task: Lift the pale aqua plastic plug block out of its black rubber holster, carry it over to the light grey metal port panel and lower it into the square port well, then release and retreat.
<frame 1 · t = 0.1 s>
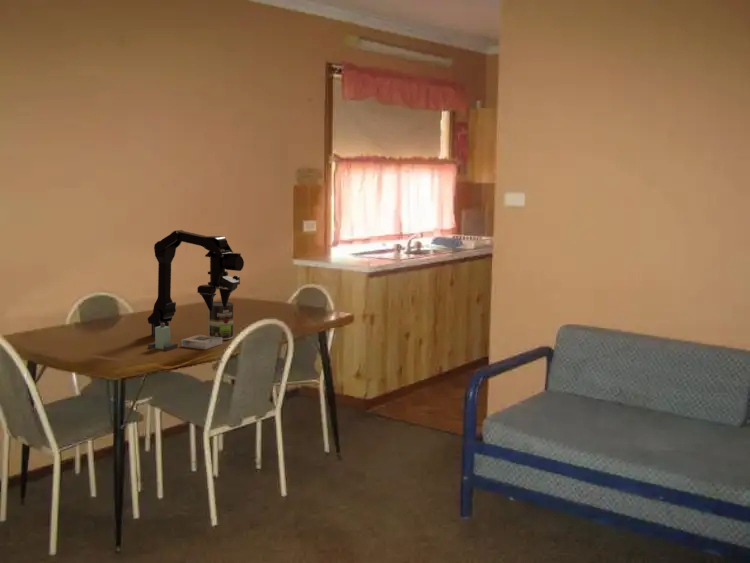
hand: (217, 308, 317), 15 cm above the table, fingers open, 9 cm apart
coffee can: (220, 338, 333), on the table
holster: (163, 350, 309), on the table
plug: (163, 347, 309), point 1 cm above the table, touching holster
port: (202, 347, 315), on the table
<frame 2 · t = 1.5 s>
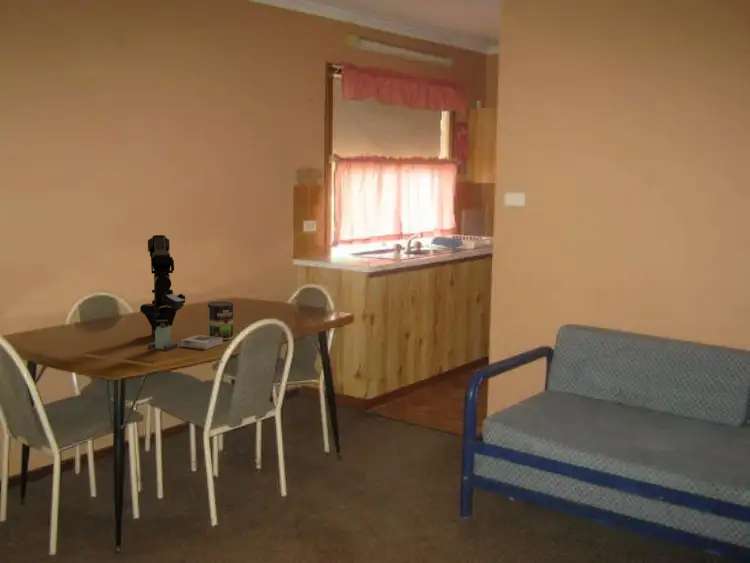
hand: (162, 327, 308), 9 cm above the table, fingers open, 9 cm apart
nothing on the table moved.
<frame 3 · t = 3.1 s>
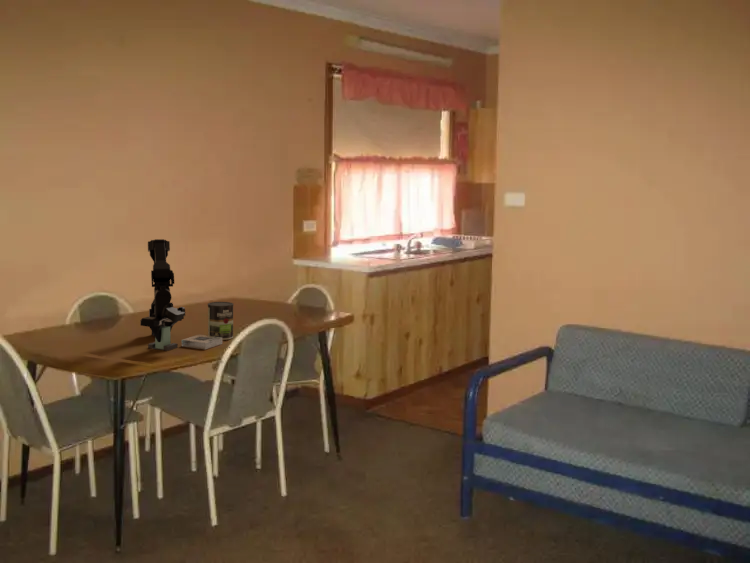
hand: (162, 340, 309), 4 cm above the table, fingers closed on plug, 4 cm apart
plug: (163, 347, 309), point 1 cm above the table, touching gripper, holster
everything else where it was.
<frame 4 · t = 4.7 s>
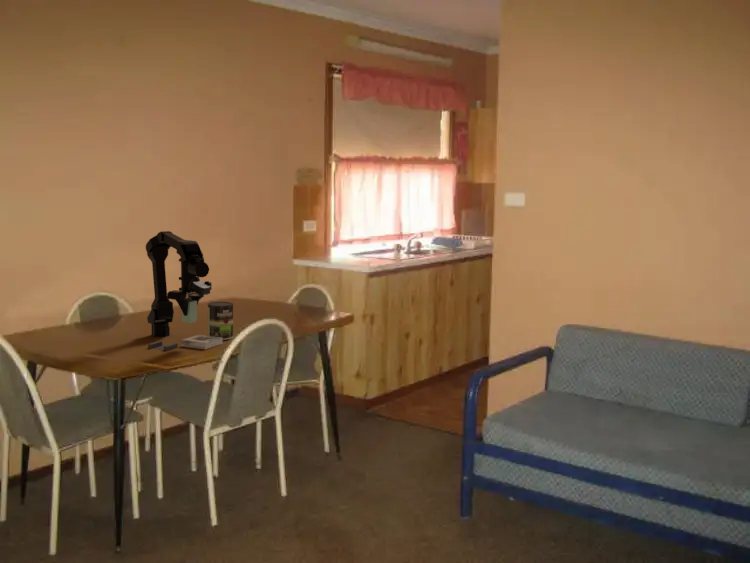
hand: (189, 314, 311), 13 cm above the table, fingers closed on plug, 4 cm apart
plug: (189, 321, 311), point 11 cm above the table, touching gripper
everything else where it was.
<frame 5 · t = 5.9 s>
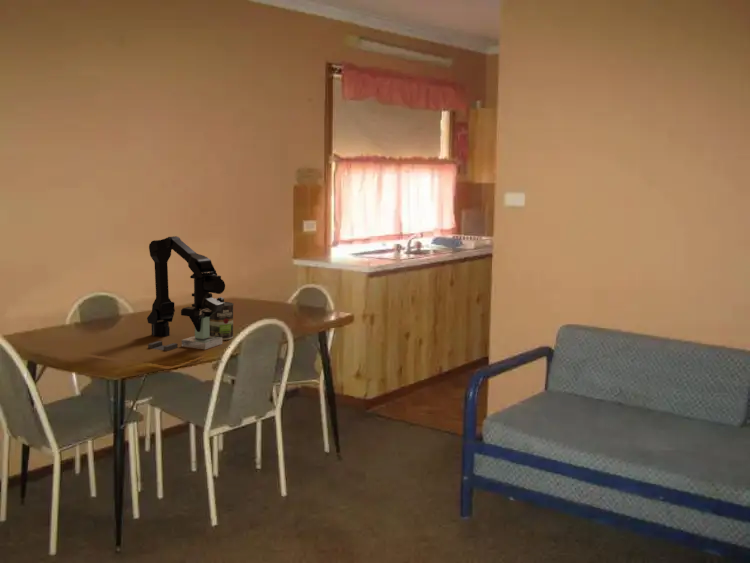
hand: (202, 330, 314), 7 cm above the table, fingers closed on plug, 4 cm apart
plug: (202, 337, 314), point 4 cm above the table, touching gripper
everything else where it was.
when the fingers open (4 cm above the table, at t = 6.7 s): plug drops 1 cm, resting on port.
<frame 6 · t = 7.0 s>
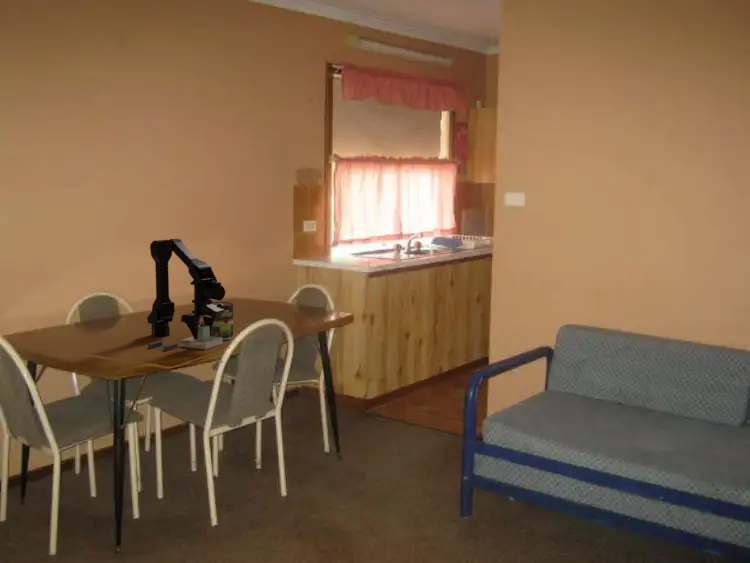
hand: (202, 337, 314), 4 cm above the table, fingers open, 8 cm apart
plug: (202, 346, 315), resting on port
everything else where it was.
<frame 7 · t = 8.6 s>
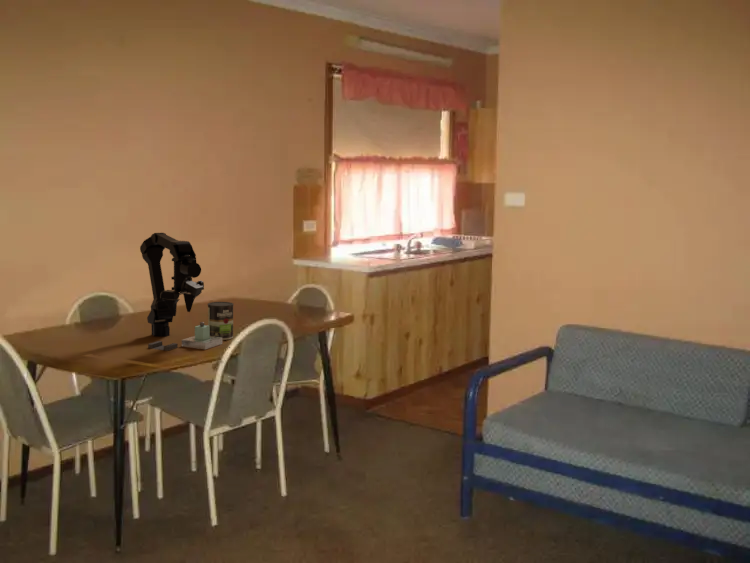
hand: (181, 313, 315), 13 cm above the table, fingers open, 9 cm apart
nothing on the table moved.
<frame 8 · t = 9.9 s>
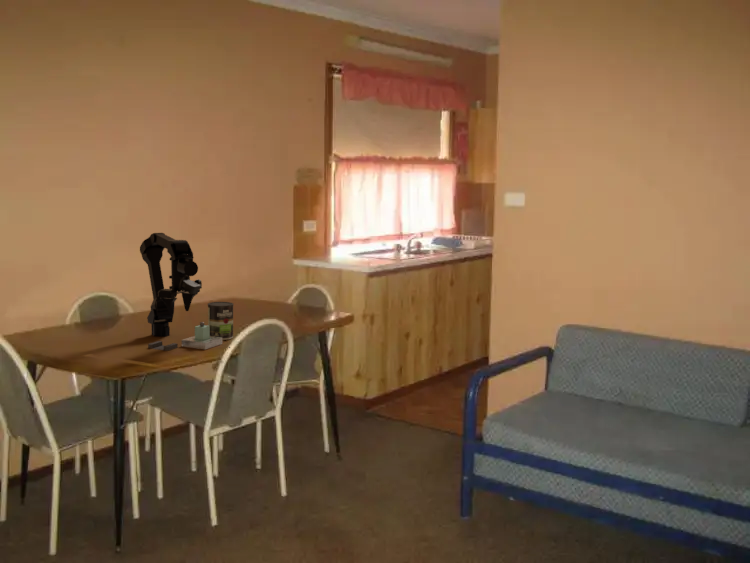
hand: (179, 313, 315), 13 cm above the table, fingers open, 9 cm apart
nothing on the table moved.
at the end: plug 0.0 cm off-centre on the port, point 0.4 cm above the port's base; plug tilted 0°; the gripper is holding nothing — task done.
